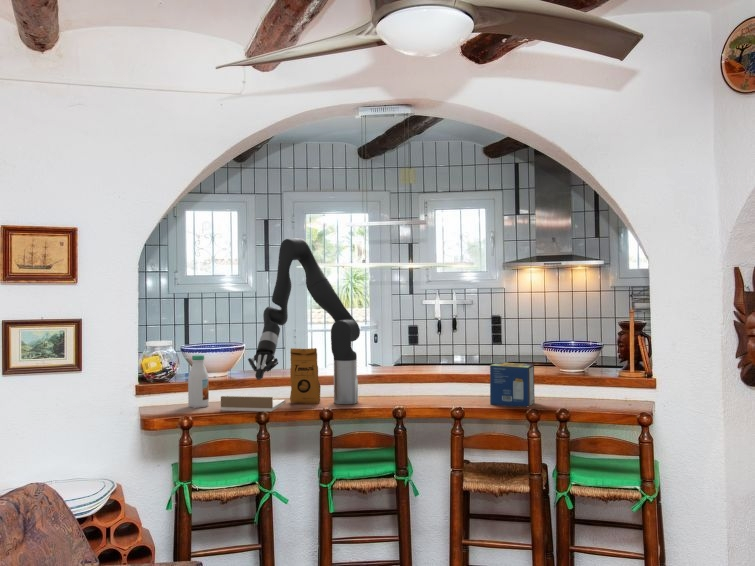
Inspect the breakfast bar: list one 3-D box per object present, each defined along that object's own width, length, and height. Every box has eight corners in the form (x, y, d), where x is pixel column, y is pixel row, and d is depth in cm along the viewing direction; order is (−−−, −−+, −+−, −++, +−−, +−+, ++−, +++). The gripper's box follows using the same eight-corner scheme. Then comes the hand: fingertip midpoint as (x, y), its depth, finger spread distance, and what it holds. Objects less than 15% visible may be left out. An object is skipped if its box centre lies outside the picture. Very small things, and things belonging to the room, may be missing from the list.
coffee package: (318, 405, 257) (318, 349, 257) (287, 405, 258) (287, 349, 258) (322, 400, 267) (322, 346, 267) (292, 400, 268) (292, 346, 268)
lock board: (285, 402, 263) (285, 389, 263) (271, 411, 245) (271, 397, 245) (237, 401, 266) (237, 388, 266) (220, 410, 248) (220, 396, 248)
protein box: (496, 400, 266) (496, 362, 266) (534, 403, 259) (534, 363, 259) (489, 404, 256) (489, 365, 256) (528, 407, 249) (528, 367, 250)
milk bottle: (196, 408, 251) (196, 356, 251) (184, 406, 256) (183, 355, 256) (212, 405, 258) (212, 355, 258) (200, 403, 262) (200, 353, 262)
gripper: (250, 339, 271) (240, 372, 259) (281, 339, 269) (272, 373, 257) (254, 350, 276) (244, 384, 264) (284, 350, 275) (276, 384, 262)
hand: (258, 378), depth 261 cm, fingers closed
